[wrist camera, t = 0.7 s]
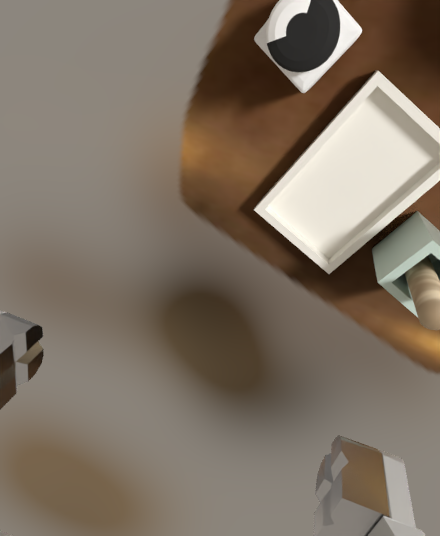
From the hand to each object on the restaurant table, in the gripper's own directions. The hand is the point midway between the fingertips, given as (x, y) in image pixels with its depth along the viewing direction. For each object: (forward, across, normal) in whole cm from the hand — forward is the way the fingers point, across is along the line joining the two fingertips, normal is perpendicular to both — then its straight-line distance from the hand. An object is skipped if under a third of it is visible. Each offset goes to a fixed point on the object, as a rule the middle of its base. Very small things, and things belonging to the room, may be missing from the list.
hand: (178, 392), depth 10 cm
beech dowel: (+41, -17, +10) cm, 46 cm away
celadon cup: (+42, -17, +9) cm, 47 cm away
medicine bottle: (+42, +2, -10) cm, 44 cm away
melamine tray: (+42, -7, +3) cm, 43 cm away
